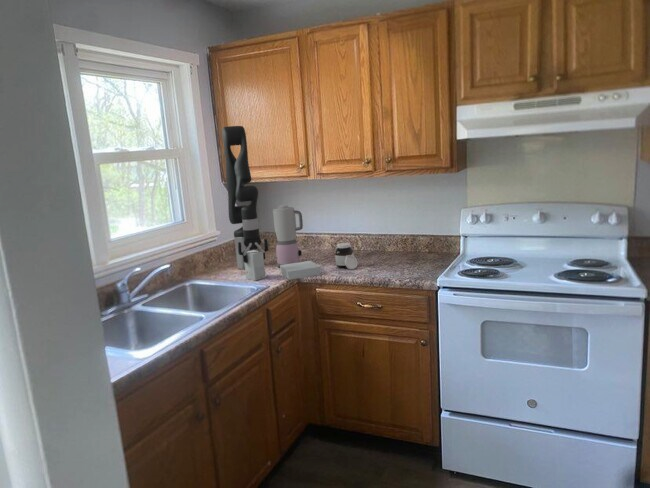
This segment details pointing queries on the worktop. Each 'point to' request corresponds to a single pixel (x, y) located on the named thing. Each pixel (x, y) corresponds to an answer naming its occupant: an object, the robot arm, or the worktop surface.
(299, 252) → the blender
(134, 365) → the worktop surface
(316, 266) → the block
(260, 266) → the small box
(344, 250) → the spread jar
